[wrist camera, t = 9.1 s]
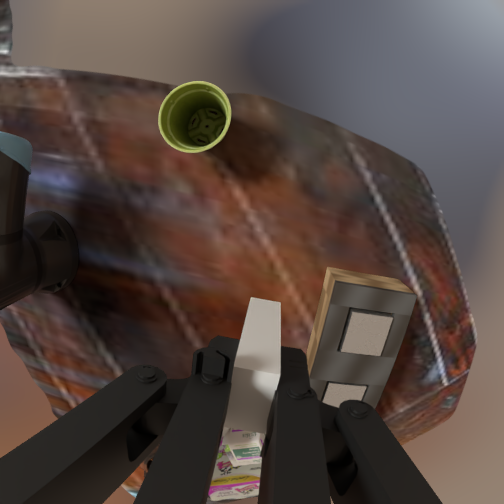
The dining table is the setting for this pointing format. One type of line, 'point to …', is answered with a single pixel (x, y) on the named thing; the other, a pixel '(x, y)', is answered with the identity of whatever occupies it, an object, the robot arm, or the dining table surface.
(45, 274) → the robot arm
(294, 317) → the dining table surface
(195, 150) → the plant pot
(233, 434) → the syrup box
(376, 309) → the socket block
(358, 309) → the peg
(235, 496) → the candy bar box
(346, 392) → the seated peg
